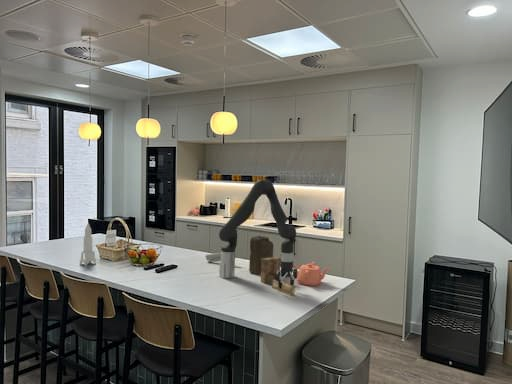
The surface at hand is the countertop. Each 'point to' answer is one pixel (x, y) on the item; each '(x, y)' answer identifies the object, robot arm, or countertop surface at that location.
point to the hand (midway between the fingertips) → (286, 287)
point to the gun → (214, 257)
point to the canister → (259, 252)
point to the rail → (284, 288)
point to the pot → (310, 274)
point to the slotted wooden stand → (269, 269)
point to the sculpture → (88, 247)
